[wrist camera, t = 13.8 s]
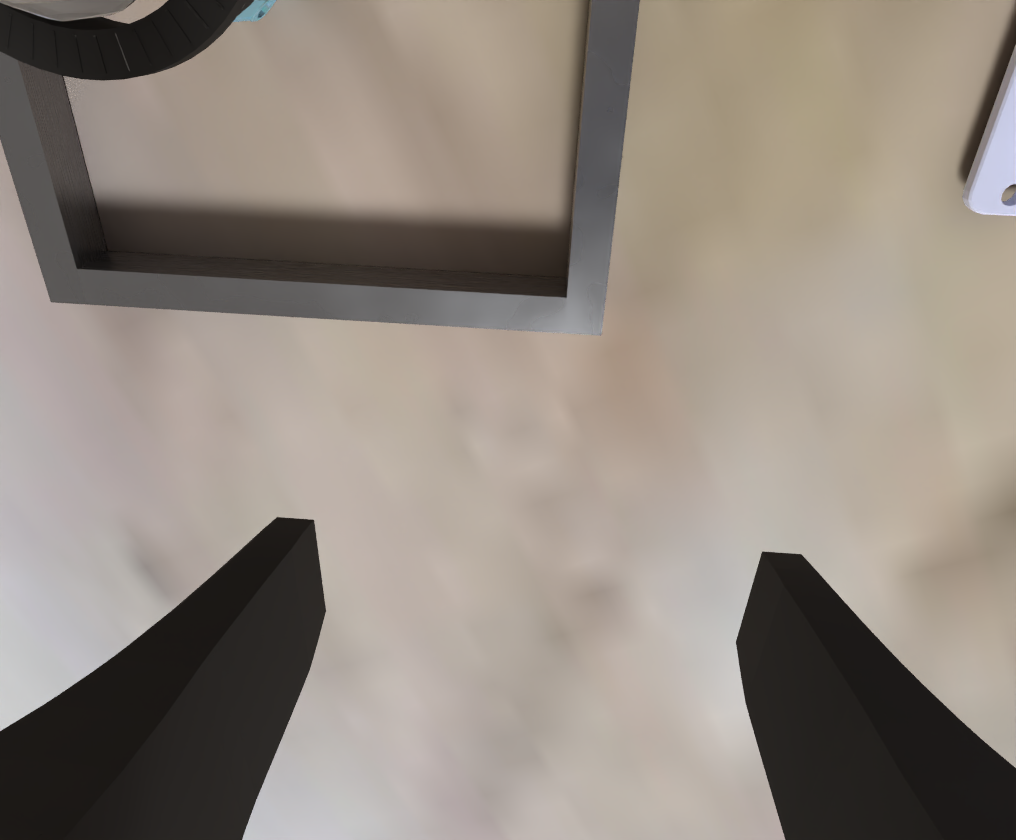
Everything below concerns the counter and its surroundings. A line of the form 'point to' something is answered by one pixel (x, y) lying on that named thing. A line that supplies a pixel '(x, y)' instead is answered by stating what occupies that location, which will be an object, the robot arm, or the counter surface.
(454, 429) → the counter surface
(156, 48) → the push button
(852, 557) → the counter surface
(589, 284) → the frame
